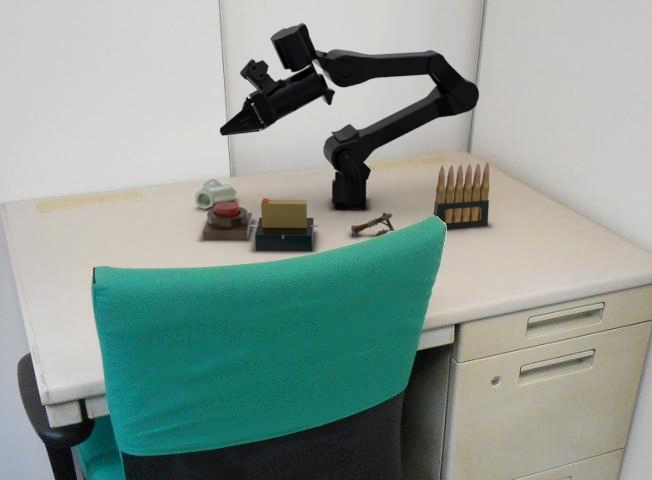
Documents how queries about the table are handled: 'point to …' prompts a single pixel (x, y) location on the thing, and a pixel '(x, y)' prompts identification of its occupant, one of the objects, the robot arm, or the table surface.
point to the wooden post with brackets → (372, 223)
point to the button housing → (227, 226)
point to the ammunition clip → (463, 198)
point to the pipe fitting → (214, 194)
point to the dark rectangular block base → (284, 238)
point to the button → (226, 209)
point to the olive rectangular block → (284, 213)
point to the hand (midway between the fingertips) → (220, 132)
